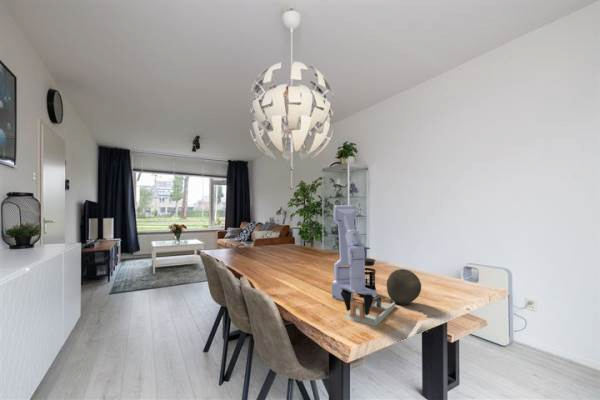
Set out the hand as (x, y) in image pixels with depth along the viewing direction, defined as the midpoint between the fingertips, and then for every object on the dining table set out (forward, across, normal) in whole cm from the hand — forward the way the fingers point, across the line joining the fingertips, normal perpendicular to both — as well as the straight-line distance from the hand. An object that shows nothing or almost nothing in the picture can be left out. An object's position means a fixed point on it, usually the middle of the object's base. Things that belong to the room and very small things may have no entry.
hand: (357, 312), depth 104 cm
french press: (+3, -9, +30) cm, 31 cm away
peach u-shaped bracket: (+1, 0, 0) cm, 1 cm away
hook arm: (+3, +4, +8) cm, 10 cm away
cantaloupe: (+3, +10, +26) cm, 28 cm away
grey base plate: (+3, +2, +6) cm, 7 cm away
